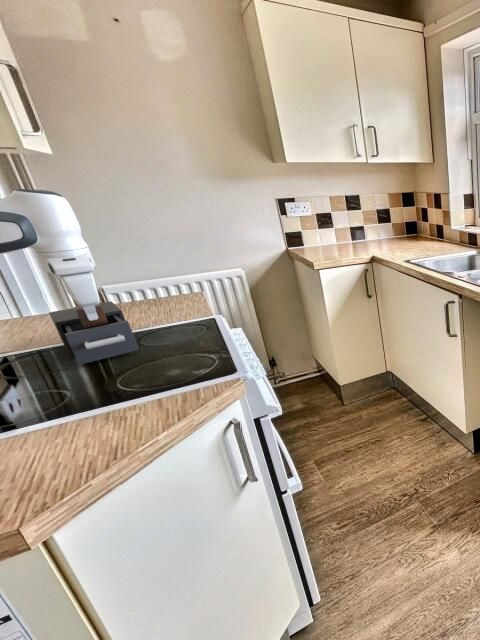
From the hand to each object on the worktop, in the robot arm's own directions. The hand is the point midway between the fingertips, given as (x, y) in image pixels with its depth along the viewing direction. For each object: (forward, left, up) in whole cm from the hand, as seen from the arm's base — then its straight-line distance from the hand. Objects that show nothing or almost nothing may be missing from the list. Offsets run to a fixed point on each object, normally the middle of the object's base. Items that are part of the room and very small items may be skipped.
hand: (91, 317), depth 104 cm
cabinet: (0, +11, -10) cm, 15 cm away
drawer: (0, -2, -9) cm, 9 cm away
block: (0, 0, -2) cm, 2 cm away
